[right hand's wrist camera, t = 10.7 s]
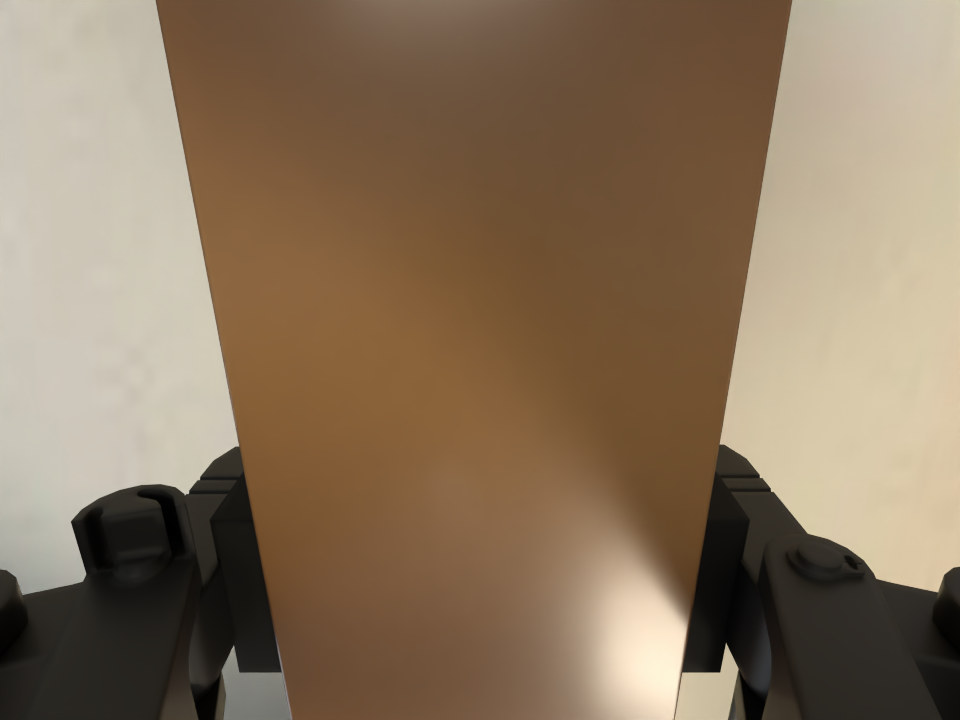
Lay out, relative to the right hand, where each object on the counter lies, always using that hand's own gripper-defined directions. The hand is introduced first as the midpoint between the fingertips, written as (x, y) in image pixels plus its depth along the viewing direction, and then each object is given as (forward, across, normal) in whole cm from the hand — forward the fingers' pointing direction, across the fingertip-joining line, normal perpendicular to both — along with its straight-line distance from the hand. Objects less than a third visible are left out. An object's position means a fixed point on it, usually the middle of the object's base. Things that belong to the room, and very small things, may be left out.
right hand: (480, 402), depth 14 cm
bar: (0, 0, -26) cm, 26 cm away
